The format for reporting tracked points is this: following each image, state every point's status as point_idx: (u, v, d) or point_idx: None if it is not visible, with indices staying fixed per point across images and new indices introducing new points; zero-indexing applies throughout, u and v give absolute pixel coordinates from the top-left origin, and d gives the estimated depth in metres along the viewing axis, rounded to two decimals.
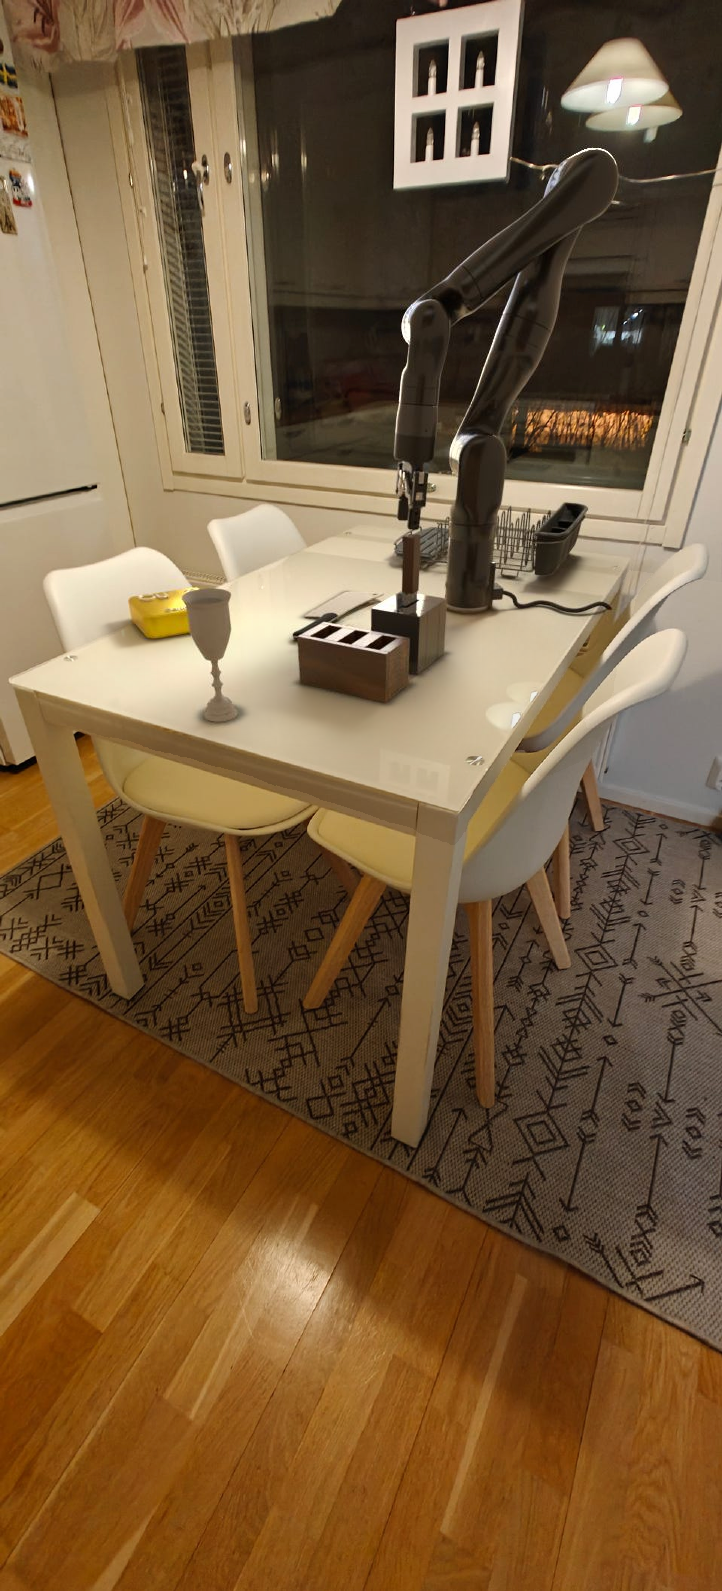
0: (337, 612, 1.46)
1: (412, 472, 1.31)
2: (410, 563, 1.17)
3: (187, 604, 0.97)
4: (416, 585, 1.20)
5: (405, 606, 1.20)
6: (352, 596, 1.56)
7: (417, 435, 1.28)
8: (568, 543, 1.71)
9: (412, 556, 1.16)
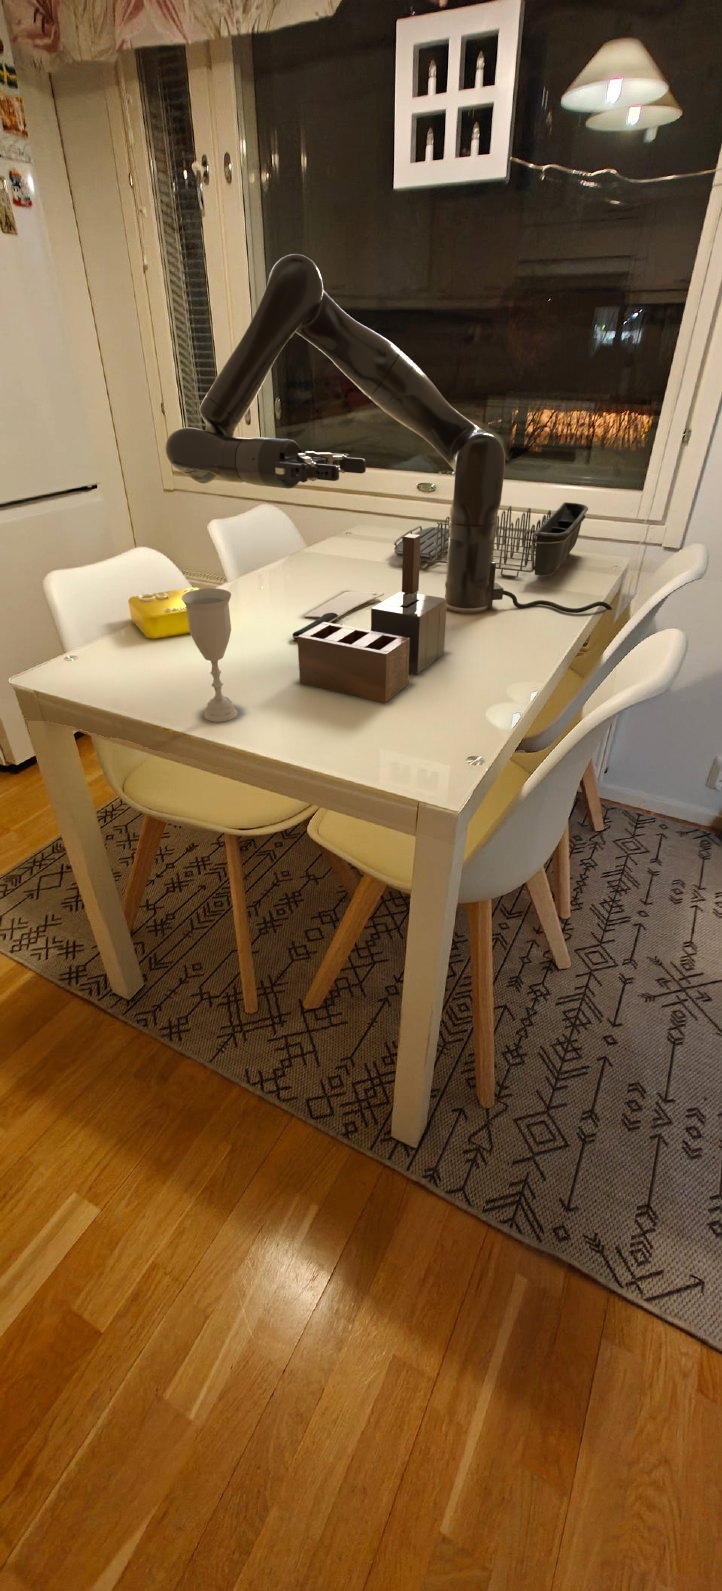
0: (337, 612, 1.46)
1: None
2: (410, 563, 1.17)
3: (187, 604, 0.97)
4: (416, 585, 1.20)
5: (405, 606, 1.20)
6: (352, 596, 1.56)
7: (257, 469, 1.20)
8: (568, 543, 1.71)
9: (412, 556, 1.16)
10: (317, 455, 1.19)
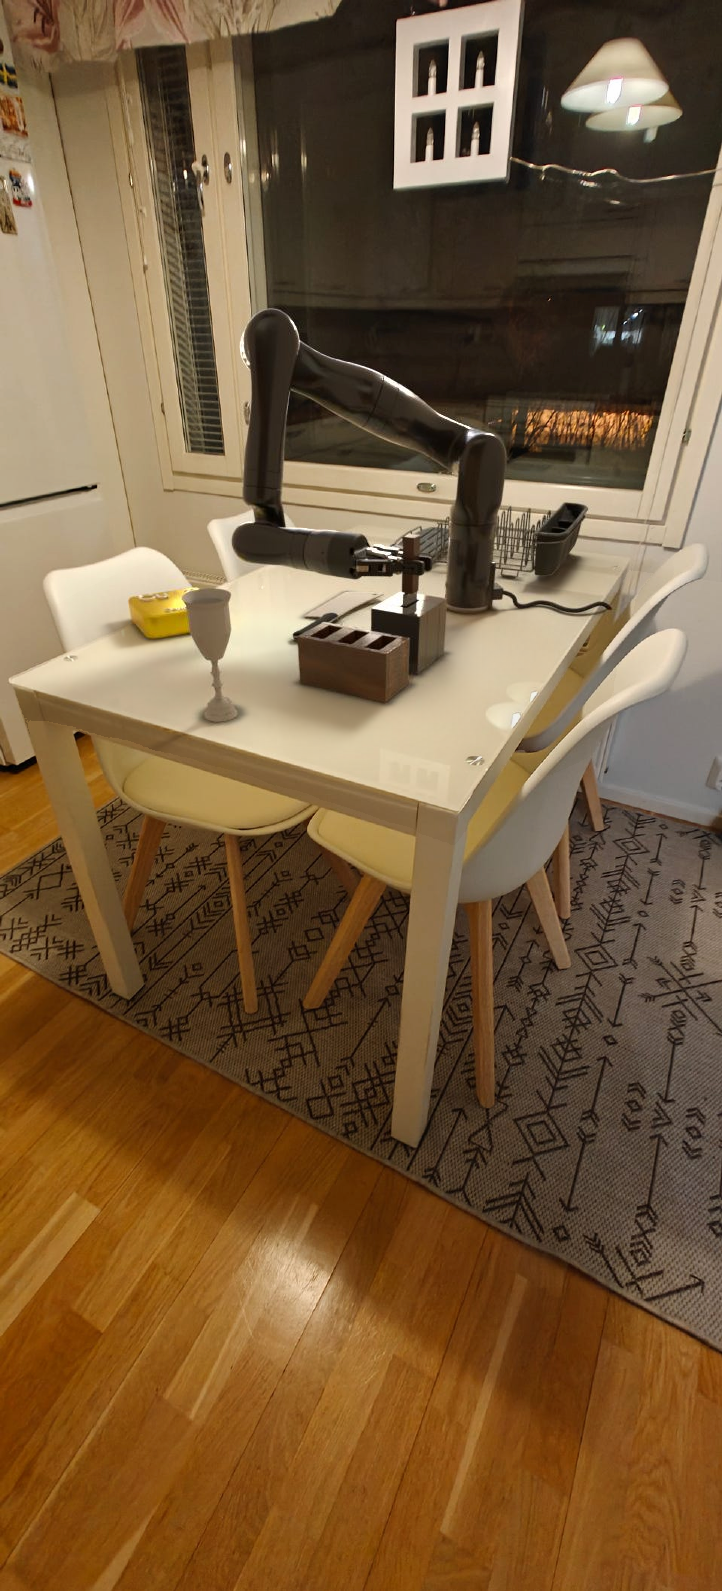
0: (337, 612, 1.46)
1: None
2: None
3: (187, 604, 0.97)
4: (416, 585, 1.20)
5: (405, 606, 1.20)
6: (352, 596, 1.56)
7: (326, 562, 1.22)
8: (568, 543, 1.71)
9: (412, 556, 1.16)
10: (383, 550, 1.20)
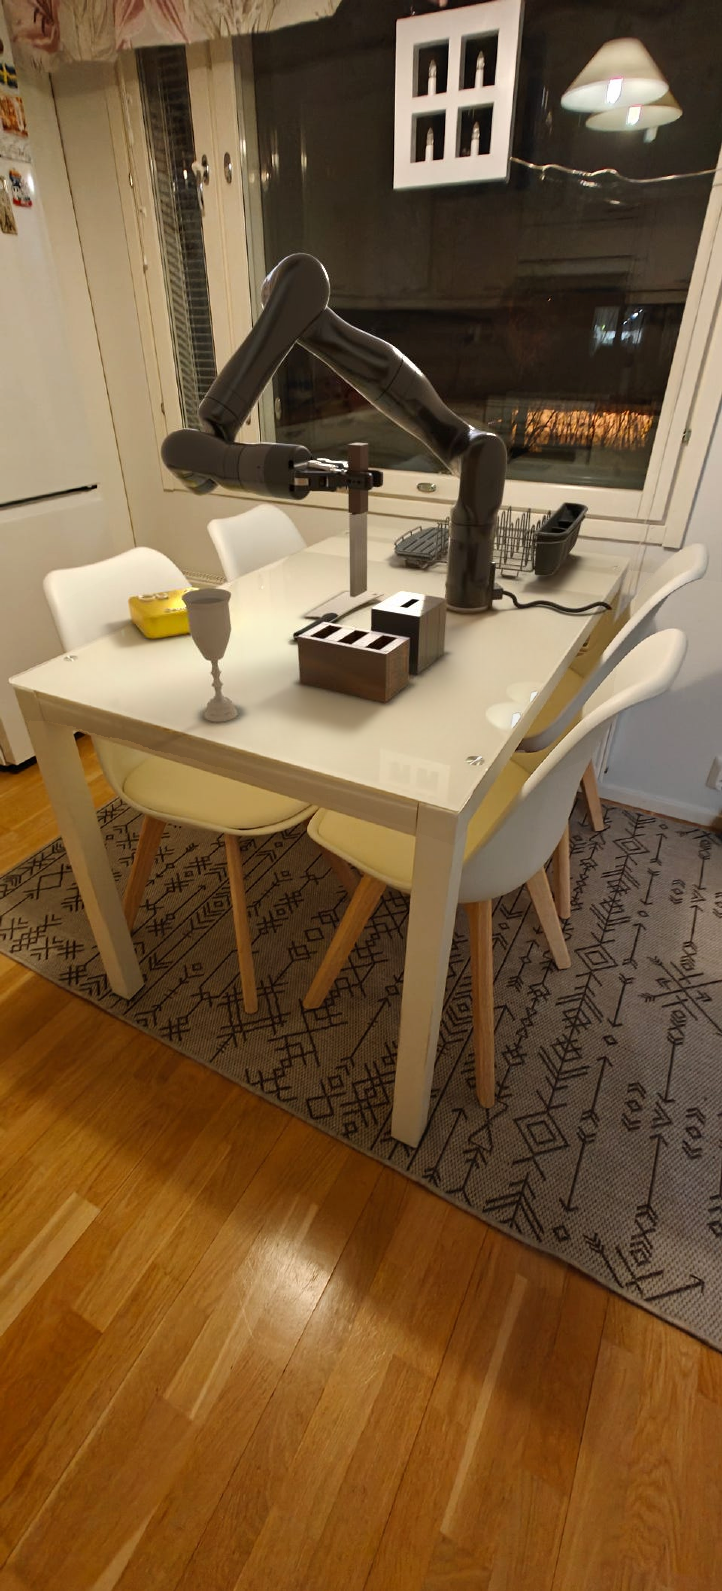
0: (337, 612, 1.46)
1: None
2: None
3: (187, 604, 0.97)
4: (365, 504, 1.04)
5: (352, 528, 1.04)
6: None
7: (263, 479, 1.06)
8: (568, 543, 1.71)
9: (358, 468, 1.00)
10: (327, 463, 1.05)
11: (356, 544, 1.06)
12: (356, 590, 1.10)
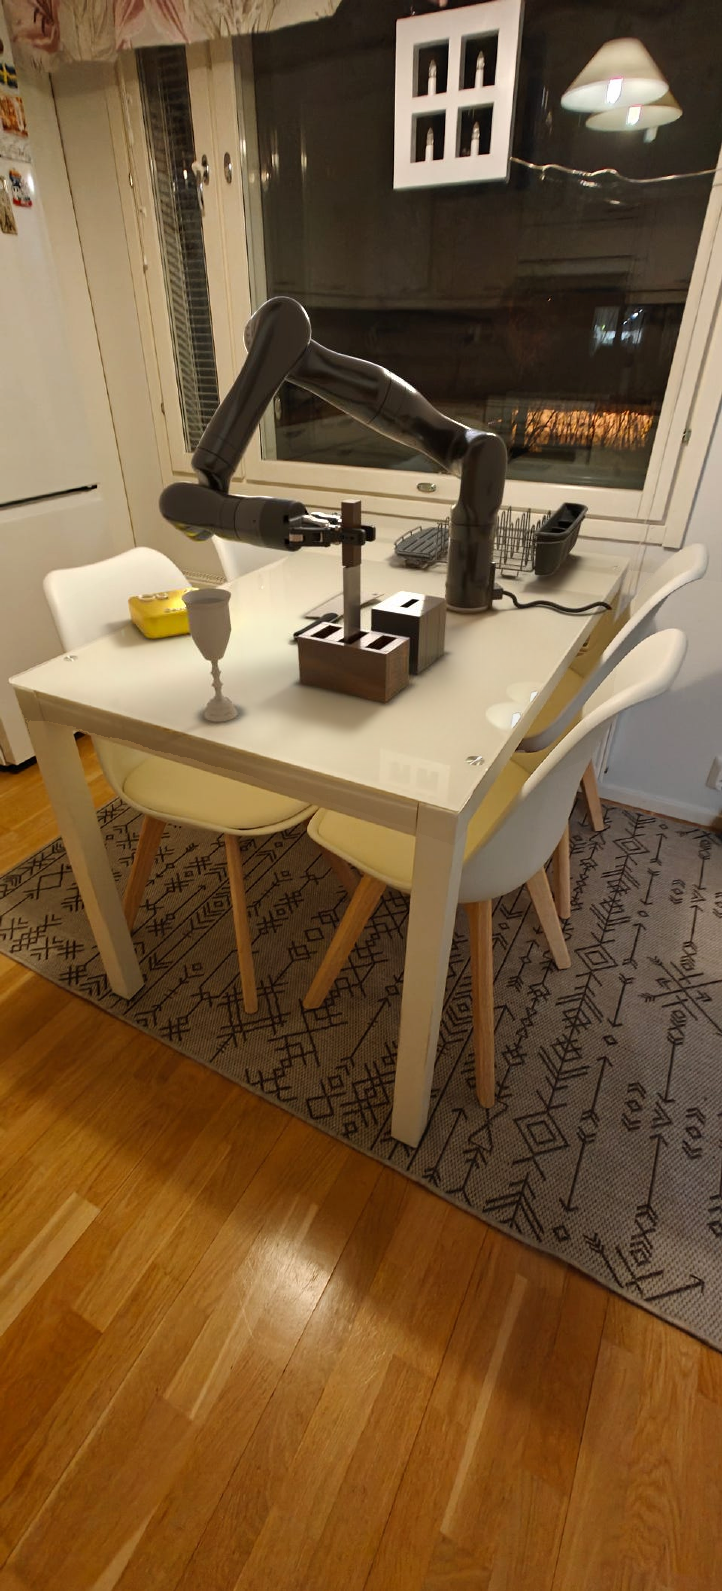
0: (337, 612, 1.46)
1: None
2: None
3: (187, 604, 0.97)
4: (358, 557, 1.07)
5: (346, 581, 1.07)
6: None
7: (259, 532, 1.09)
8: (568, 543, 1.71)
9: (352, 524, 1.03)
10: (321, 518, 1.07)
11: (350, 595, 1.09)
12: (350, 639, 1.12)
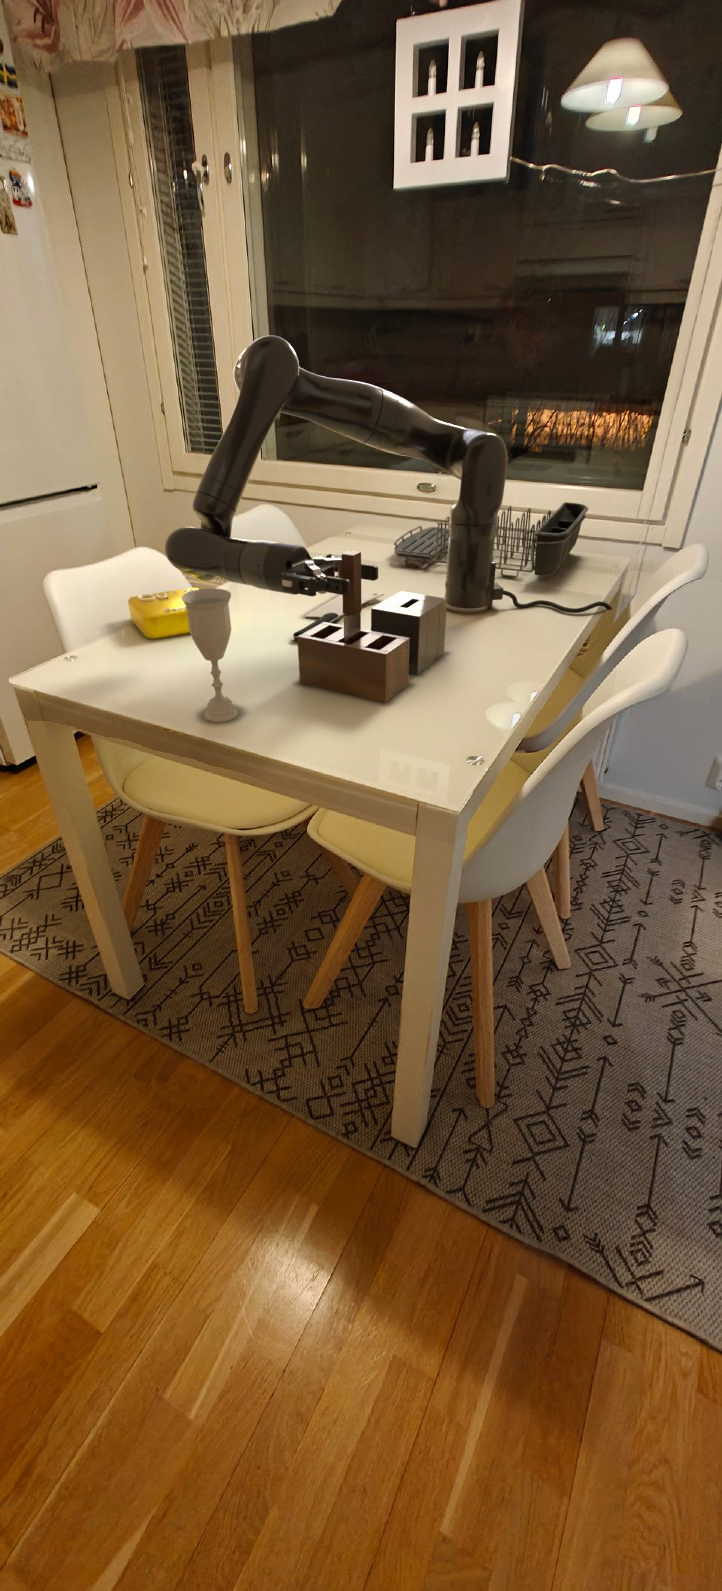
0: (337, 612, 1.46)
1: None
2: (350, 583, 1.08)
3: (187, 604, 0.97)
4: (358, 605, 1.11)
5: (346, 628, 1.11)
6: None
7: (263, 576, 1.12)
8: (568, 543, 1.71)
9: (352, 575, 1.07)
10: (326, 561, 1.11)
11: (350, 641, 1.13)
12: None
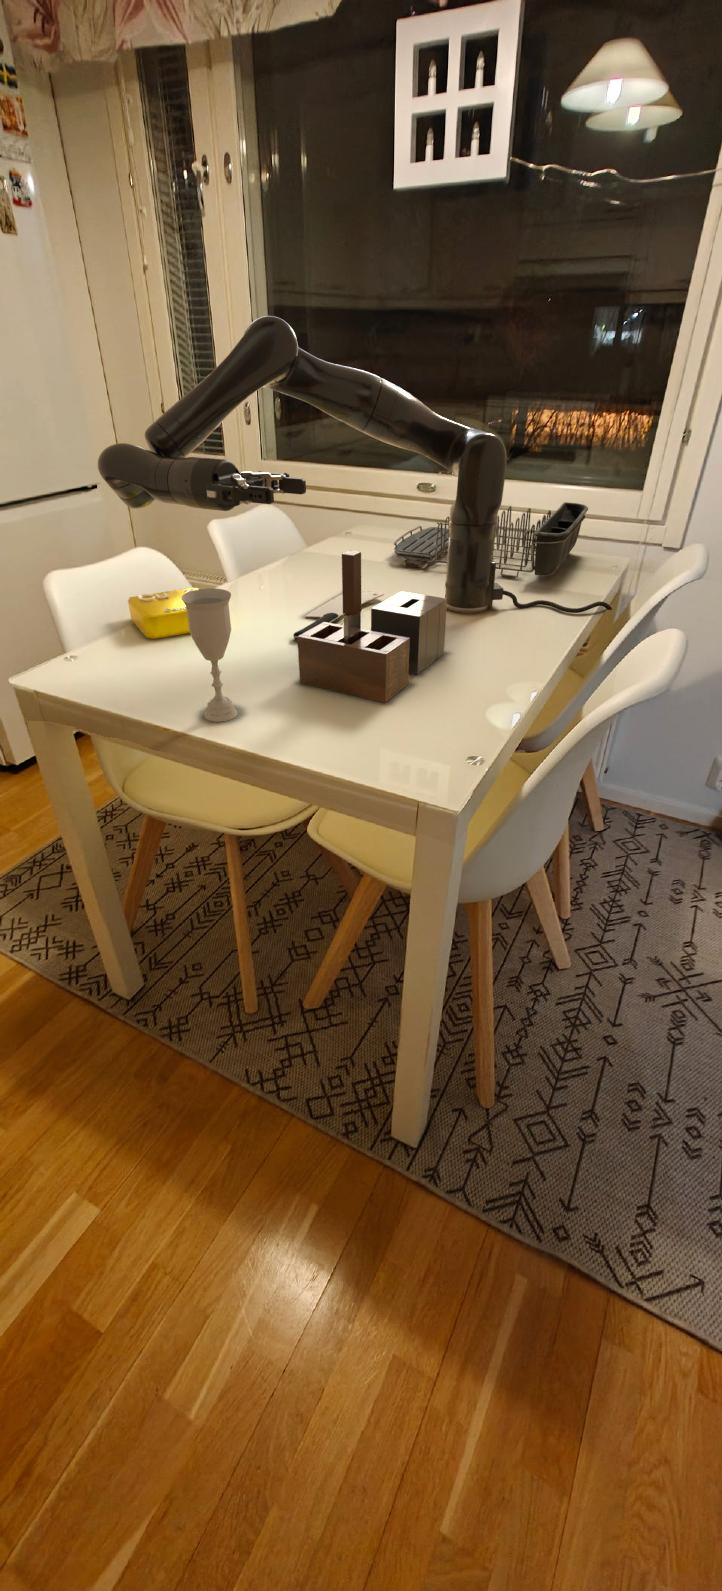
0: (338, 612, 1.46)
1: None
2: (350, 583, 1.08)
3: (187, 604, 0.97)
4: (358, 605, 1.11)
5: (346, 628, 1.11)
6: None
7: (190, 491, 1.12)
8: (568, 543, 1.71)
9: (352, 575, 1.07)
10: (254, 475, 1.11)
11: (350, 641, 1.13)
12: None
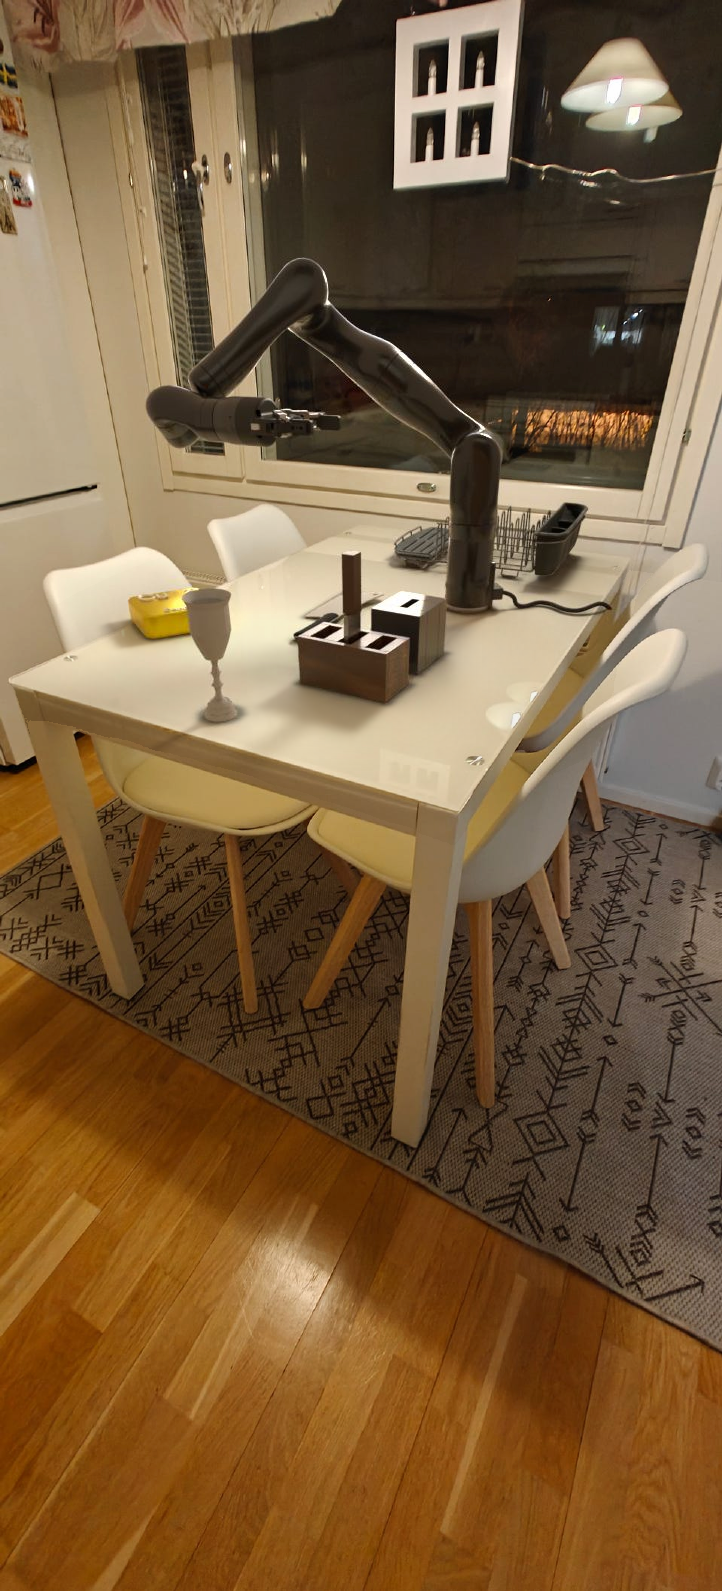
0: (338, 612, 1.46)
1: None
2: (350, 583, 1.08)
3: (187, 604, 0.97)
4: (358, 605, 1.11)
5: (346, 628, 1.11)
6: None
7: (234, 427, 1.21)
8: (568, 543, 1.71)
9: (352, 575, 1.07)
10: (293, 412, 1.20)
11: (350, 641, 1.13)
12: None
